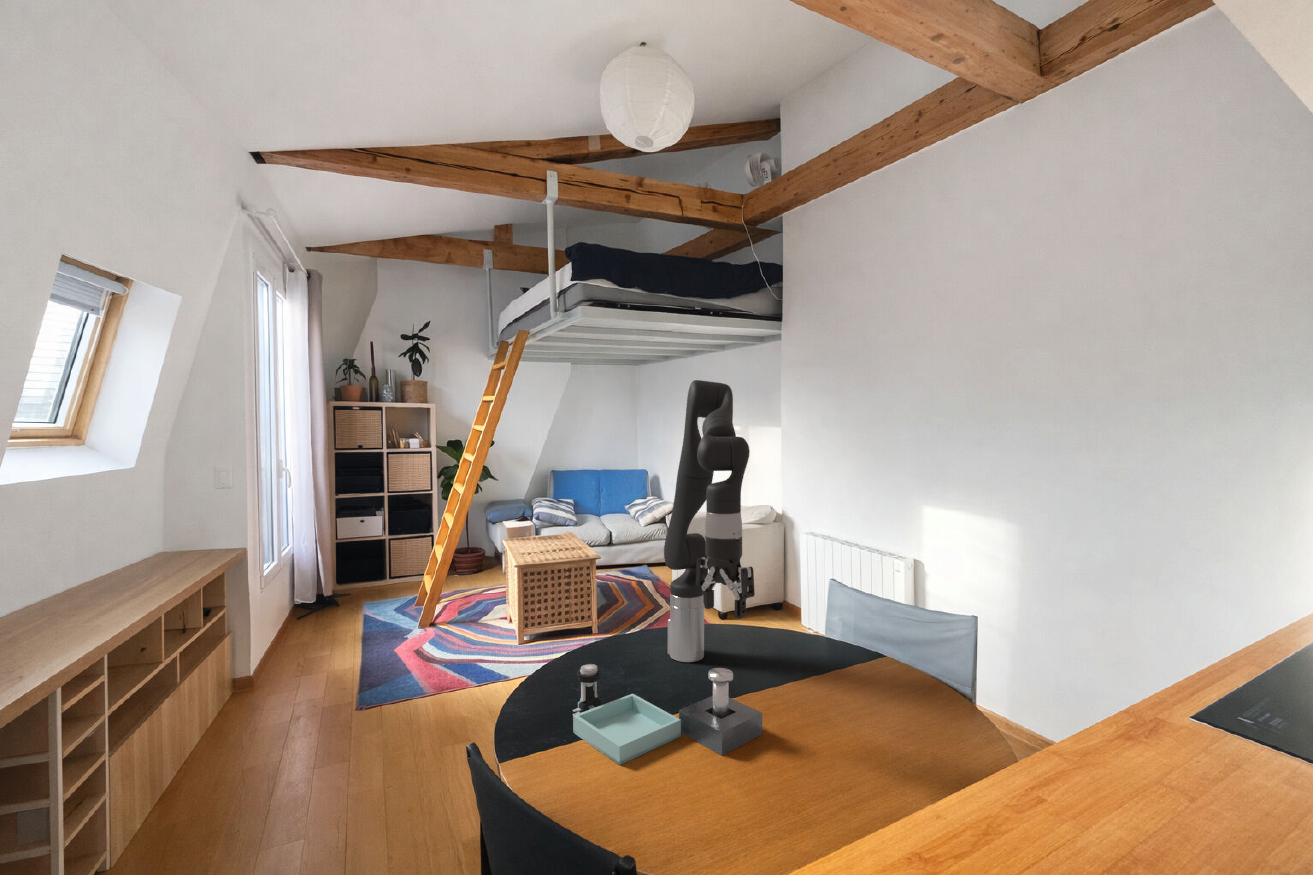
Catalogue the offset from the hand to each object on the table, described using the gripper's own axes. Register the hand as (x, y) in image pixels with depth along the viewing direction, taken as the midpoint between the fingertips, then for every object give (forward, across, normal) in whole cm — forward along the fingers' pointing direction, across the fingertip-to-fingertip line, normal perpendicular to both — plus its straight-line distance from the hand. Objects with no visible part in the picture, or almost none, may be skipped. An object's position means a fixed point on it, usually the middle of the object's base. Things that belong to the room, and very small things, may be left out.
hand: (724, 612), depth 125 cm
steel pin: (+25, 0, -1) cm, 25 cm away
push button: (+24, -25, -17) cm, 39 cm away
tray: (+24, -12, -16) cm, 32 cm away
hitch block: (+25, 0, -1) cm, 25 cm away
